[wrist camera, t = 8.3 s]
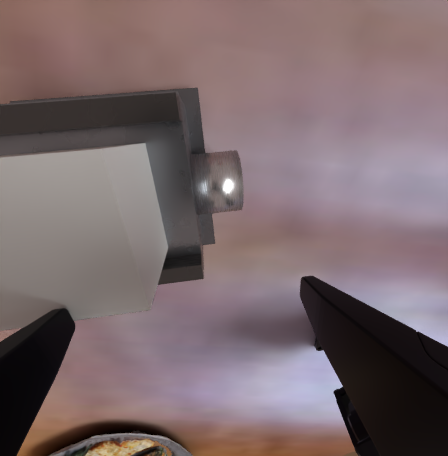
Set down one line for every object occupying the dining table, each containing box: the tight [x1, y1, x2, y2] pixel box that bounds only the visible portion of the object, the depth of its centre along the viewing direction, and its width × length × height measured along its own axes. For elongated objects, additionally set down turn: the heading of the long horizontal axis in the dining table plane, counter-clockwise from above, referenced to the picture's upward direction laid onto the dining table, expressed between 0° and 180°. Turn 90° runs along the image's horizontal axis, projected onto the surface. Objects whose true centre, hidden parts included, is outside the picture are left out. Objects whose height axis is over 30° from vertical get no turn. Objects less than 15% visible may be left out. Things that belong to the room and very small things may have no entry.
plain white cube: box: [0, 143, 168, 331], centre depth 9 cm, size 6×6×5 cm
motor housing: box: [0, 88, 243, 285], centre depth 14 cm, size 12×14×8 cm
